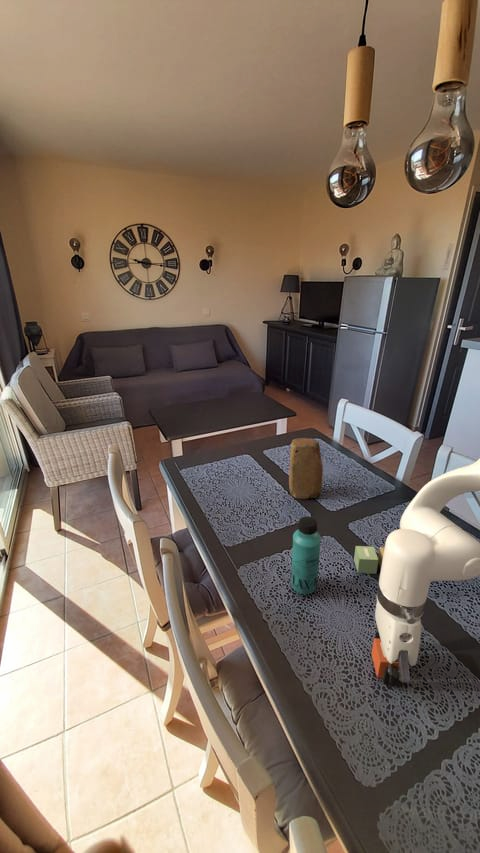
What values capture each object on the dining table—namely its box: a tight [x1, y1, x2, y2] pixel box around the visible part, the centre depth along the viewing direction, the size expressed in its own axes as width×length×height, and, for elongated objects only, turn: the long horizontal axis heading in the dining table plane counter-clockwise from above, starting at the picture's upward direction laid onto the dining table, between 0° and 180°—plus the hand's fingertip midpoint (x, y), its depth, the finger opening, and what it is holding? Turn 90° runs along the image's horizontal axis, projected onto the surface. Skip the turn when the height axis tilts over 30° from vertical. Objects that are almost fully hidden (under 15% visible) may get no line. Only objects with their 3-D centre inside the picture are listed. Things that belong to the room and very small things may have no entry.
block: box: [288, 437, 324, 500], centre depth 119 cm, size 11×8×20 cm
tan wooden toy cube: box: [377, 546, 385, 570], centre depth 91 cm, size 5×5×5 cm
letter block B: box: [353, 545, 379, 575], centre depth 91 cm, size 5×5×5 cm
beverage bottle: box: [289, 515, 322, 595], centre depth 83 cm, size 6×7×20 cm
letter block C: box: [371, 637, 399, 679], centre depth 68 cm, size 5×5×5 cm
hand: (386, 664), depth 69 cm, fingers open, 6 cm apart
